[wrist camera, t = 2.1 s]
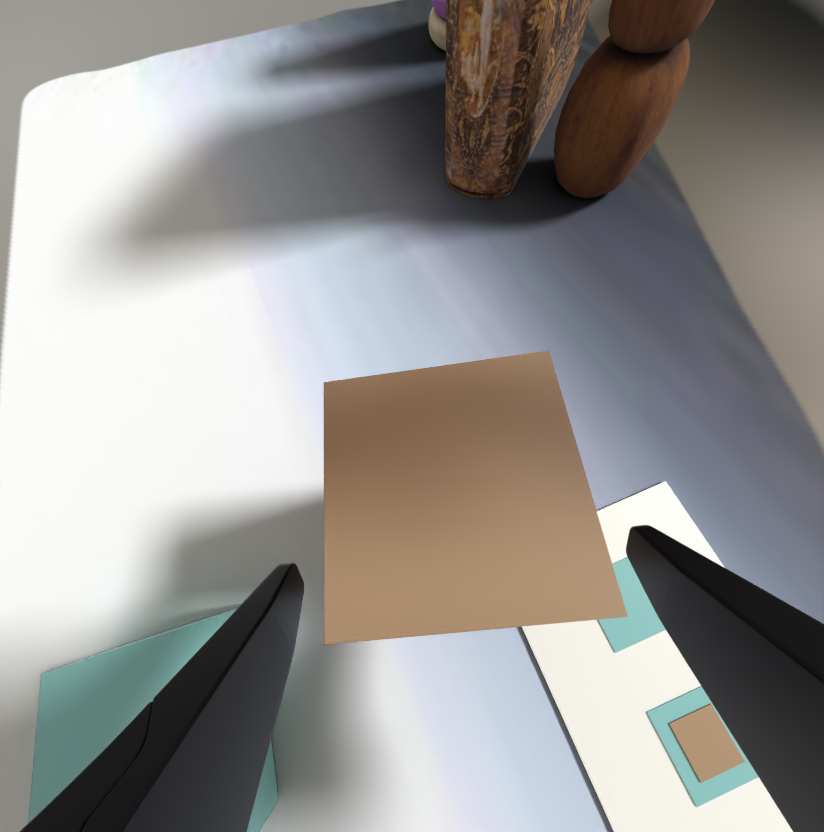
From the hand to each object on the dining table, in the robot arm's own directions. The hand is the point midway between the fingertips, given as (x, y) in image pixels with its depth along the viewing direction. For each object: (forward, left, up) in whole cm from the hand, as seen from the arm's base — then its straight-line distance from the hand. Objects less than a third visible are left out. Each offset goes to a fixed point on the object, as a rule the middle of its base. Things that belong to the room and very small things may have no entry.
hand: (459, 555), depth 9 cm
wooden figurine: (+21, -18, -9) cm, 29 cm away
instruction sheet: (-8, -7, -9) cm, 14 cm away
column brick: (+1, 0, -9) cm, 9 cm away
